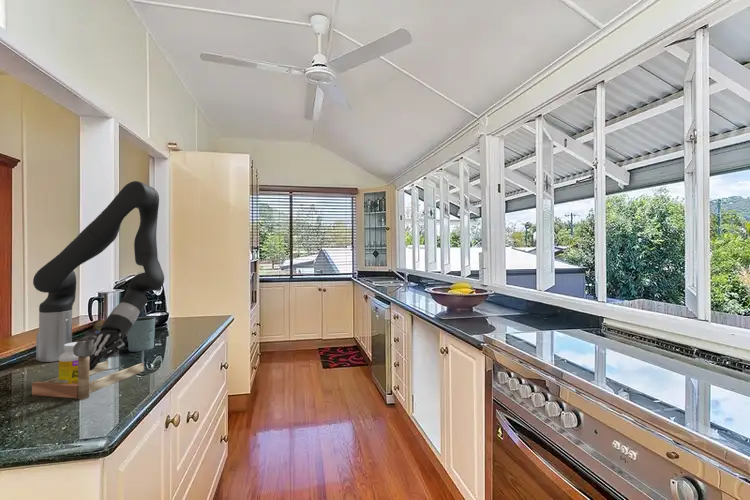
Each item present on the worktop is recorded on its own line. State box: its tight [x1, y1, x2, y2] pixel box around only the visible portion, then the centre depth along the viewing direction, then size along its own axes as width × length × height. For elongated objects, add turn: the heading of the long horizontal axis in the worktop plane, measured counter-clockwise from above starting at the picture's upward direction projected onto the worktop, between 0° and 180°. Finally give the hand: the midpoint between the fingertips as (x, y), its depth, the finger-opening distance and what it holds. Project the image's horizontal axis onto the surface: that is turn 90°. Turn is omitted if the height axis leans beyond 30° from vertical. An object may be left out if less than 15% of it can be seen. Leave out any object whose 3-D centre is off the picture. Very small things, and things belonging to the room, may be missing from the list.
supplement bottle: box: [58, 341, 79, 384], centre depth 109 cm, size 7×7×13 cm
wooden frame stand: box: [31, 335, 145, 400], centre depth 114 cm, size 25×19×16 cm
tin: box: [92, 319, 127, 337], centre depth 171 cm, size 15×3×8 cm, turn 91°
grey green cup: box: [126, 316, 156, 352], centre depth 154 cm, size 10×10×12 cm
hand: (87, 369), depth 113 cm, fingers closed
